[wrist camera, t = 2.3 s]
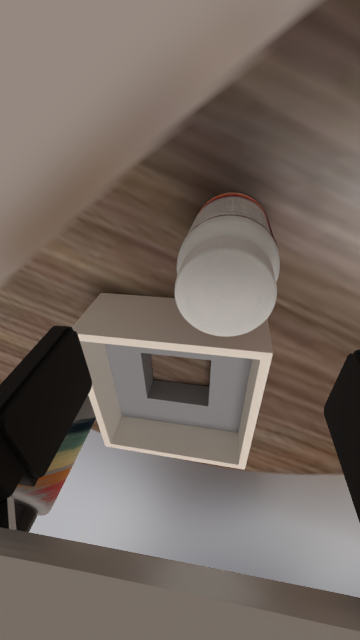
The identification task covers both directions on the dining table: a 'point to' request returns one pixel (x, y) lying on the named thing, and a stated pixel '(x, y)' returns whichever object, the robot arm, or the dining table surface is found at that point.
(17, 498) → the lotion bottle
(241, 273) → the pill bottle
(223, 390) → the box
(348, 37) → the dining table surface
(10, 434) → the robot arm
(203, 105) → the dining table surface
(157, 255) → the dining table surface
